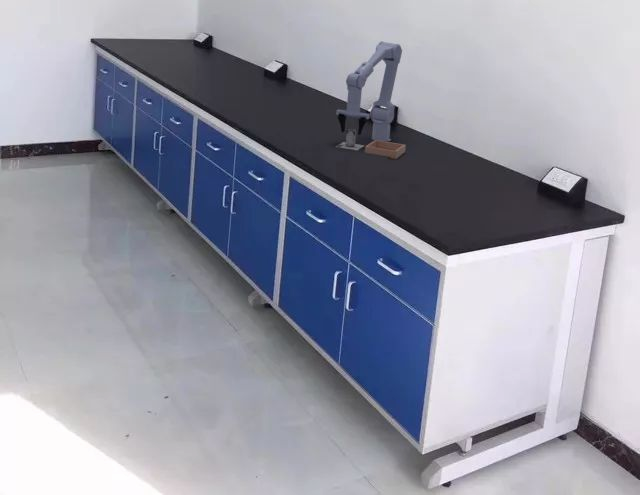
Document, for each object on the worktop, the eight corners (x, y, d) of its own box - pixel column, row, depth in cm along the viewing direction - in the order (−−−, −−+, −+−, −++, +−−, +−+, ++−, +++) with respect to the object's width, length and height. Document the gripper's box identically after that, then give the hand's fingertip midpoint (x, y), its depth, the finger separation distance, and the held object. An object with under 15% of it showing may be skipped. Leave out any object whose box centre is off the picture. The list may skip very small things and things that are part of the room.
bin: (374, 147, 349) (375, 140, 348) (405, 152, 345) (405, 144, 343) (364, 154, 337) (365, 146, 335) (396, 159, 332) (396, 151, 331)
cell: (347, 144, 348) (348, 127, 345) (356, 145, 346) (357, 129, 344) (344, 146, 344) (345, 129, 342) (353, 147, 343) (354, 130, 340)
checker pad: (343, 143, 352) (343, 141, 351) (364, 147, 348) (364, 145, 348) (335, 148, 343) (335, 146, 342) (357, 152, 340) (357, 149, 339)
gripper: (334, 101, 337) (332, 132, 342) (367, 105, 333) (364, 137, 337) (340, 98, 343) (338, 129, 348) (372, 103, 339) (369, 134, 344)
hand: (351, 133), depth 343 cm, fingers open, 7 cm apart
